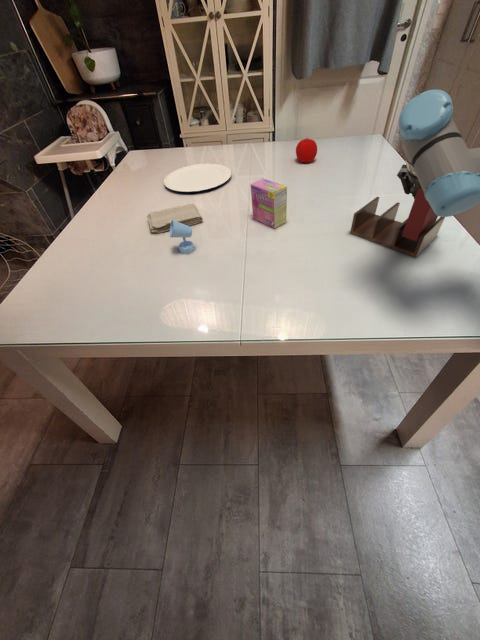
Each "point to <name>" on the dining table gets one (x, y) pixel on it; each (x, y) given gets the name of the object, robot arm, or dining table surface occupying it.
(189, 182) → the plate
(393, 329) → the dining table surface
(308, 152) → the fruit
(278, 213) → the box
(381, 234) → the rack
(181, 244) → the spotlight
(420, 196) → the upright red slab
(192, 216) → the washcloth
